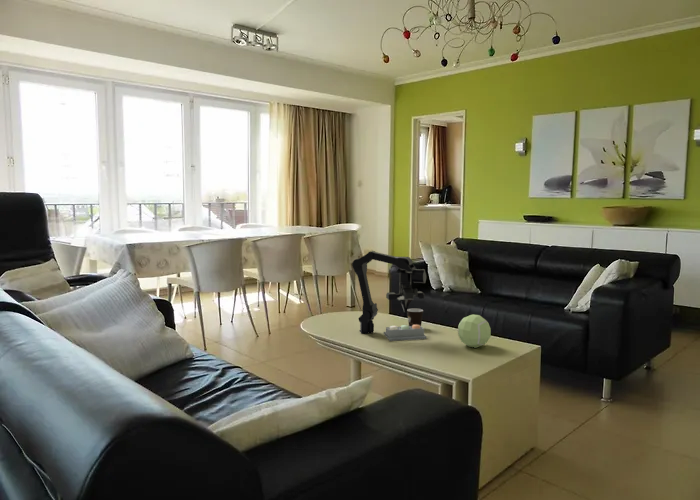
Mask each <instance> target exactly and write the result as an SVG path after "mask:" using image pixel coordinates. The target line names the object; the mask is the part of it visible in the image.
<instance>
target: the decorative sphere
mask: <svg viewBox="0 0 700 500" xmlns="http://www.w3.org/2000/svg"><path fill="white" fill-rule="evenodd" d="M491 329H492V328H491V326H490V324H489V322H488V320H487V319H485V318H484V317H483V316H481V315H480V314H470V315H468V316H465V317H463V318H462V319H461V320H460V322H459V324H458V327H457V335H458V337H459V340H460V341H461V343H464V345H466V346H467V347H469V348H473V347H474V349H477V348H479V347H482V346H484V345H486V344H487V342H489V340H490V338H491V337H492V336H491V333H492V332H491Z"/></svg>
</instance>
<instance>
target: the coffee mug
mask: <svg viewBox="0 0 700 500" xmlns="http://www.w3.org/2000/svg"><path fill="white" fill-rule="evenodd" d="M423 313H424V310H423V309H421V308H408V309H407V312H406V314H407V322H408V326H412V325H420V326H421V327H422V321H423V315H424V314H423Z"/></svg>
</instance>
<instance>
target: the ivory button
mask: <svg viewBox="0 0 700 500" xmlns="http://www.w3.org/2000/svg"><path fill="white" fill-rule="evenodd" d="M389 327H390V330H397V327H398V326H397V325H389Z"/></svg>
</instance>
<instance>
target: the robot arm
mask: <svg viewBox="0 0 700 500" xmlns="http://www.w3.org/2000/svg"><path fill="white" fill-rule="evenodd" d="M372 260H374V261H378V262H383V263H387V264H391V265H393V266H395V267H396V268H398V269H397V270H395V274H399V284H398V285H399V290H398V293H395V292H393V291H392V292H387V293H386V294H385V295H386V296H385V298H386V299H387V300H389V301H393V300H397V301H399V303H400V304H401V307H402V309H403V313H407V310H408V309H409V307H410V303H411V302H412V301H414V298H418V300H419V299H425V295H426V294H425V293H424V292H423V291H420V290H419V291H418V288H417V287H415V288H413V287H412V282H413V283H414V284H415V283H416V284H417V283H418V284H426V281H427V272H426V269H424V268H422V269H421V268H420V269H419V268H418V269H417V267H416V266H415V265H414V263H413V260H412V259H411V257H409V256H394V255H389V254H385V253H382V252H377V251H374V250H372V251H368V252H367V253H366V254H364V255H363V256H360V257H358V258H356V259H354V260H353V261H352V263H351V265H352V269H353V272H354V273H355V275H356V276H357V279H358V283H359V288H360V289H359V290H360V293H361V298H362V303H363V304H362V309H361V310H362V314H361V315H360V316H359V317H358V321H359V332H360V334H364V335H365V334H374V332H375V324H374V321H373V320H374V318H375V317H376V316H377V314H378V311H379V309H378V304H377V303H376V302H374V301H373V299H372V295H371V290H370V286H369V281H368V276H367V273H368V264H369V263H370V262H372Z"/></svg>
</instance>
